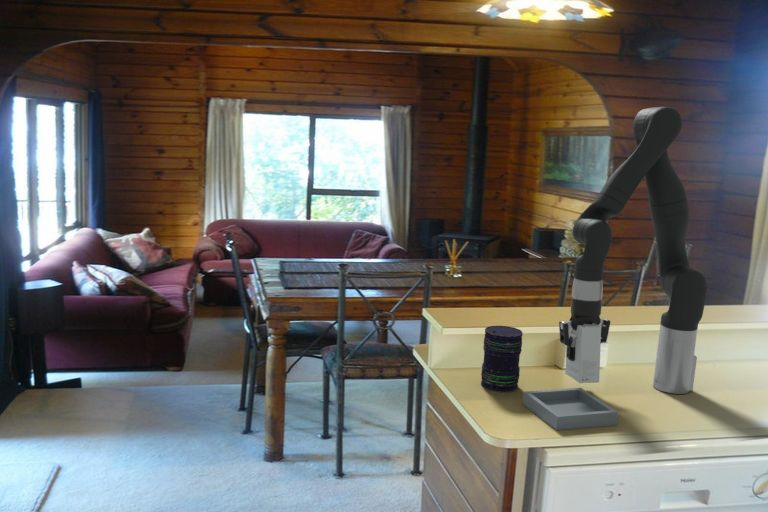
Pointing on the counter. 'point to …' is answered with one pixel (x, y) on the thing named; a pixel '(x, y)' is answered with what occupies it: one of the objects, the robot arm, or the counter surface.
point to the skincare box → (585, 354)
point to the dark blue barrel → (501, 358)
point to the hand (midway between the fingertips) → (582, 358)
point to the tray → (569, 408)
